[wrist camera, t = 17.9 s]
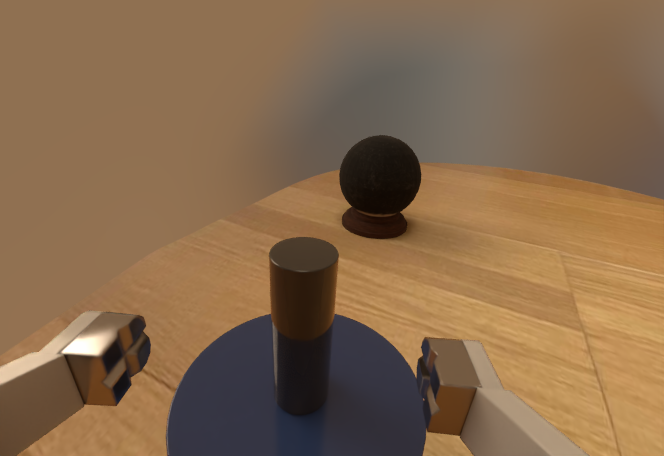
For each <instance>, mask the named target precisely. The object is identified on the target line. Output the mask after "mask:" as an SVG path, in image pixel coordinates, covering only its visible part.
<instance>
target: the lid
mask: <svg viewBox="0 0 664 456" xmlns="http://www.w3.org/2000/svg"><path fill="white" fill-rule="evenodd" d="M338 258H339V254H338V251H337V249H336V248H335V247H334V246H333V245H332V244H330V243H328V242H326V241H324V240H321V239H317V238H311V237H296V238H290V239H286V240H283V241H281V242H279V243H277V244H275V245H274V246H273V247H272V248H271V250H270V252H269V268H270V300H271V314H268V315H264V316H261V317H258V318H255V319H252V320H250V321H247V322H245V323H243V324H241V325H239V326H237V327H235V328H233V329H231V330H230V331H228V332H226V333H225V334H223V335H222V336H220V337H219V338H218V339H216V340H215V341H214V342H212V343H211V344H210V345H209V346H208V347H207V348H206V349H205V350H204V351H203V352H202V353H201V354H200V355H199V356H198V357H197V358H196V359H195V361H194V362H193V363H192V364H191V366H190V367H189V369H188V370H187V371H186V373H185V374H184V376H183V378H182V380H181V382H180V383H179V385H178V387H177V389H176V392H175V395H174V397H173V400H172V402H171V406H170V410H169V414H168V419H167V429H166V446H167V456H422V455H423V450H424V445H425V441H426V423H425V419H424V414H423V410H422V407H423V403H424V400H423V397H422V396H421V395H420V394H419V391H418V386H417V379H416V377H415V375H414V373H413V371H412V369H411V367H410V366H409V364H408V363H407V362H406V360H405V359H404V357H403V356H402V355H401V354H400V353H399V351H398V350H397V349H396V348H395V347H394V346H393V345H392V344H391V343H390V342H389V341H387V340H386V339H385V338H384V337H383V336H381V335H380V334H378V333H377V332H376V331H374V330H373V329H371V328H369V327H367V326H366V325H364V324H362V323H360V322H357V321H355V320H353V319H350V318H347V317H344V316H341V315H337V314H334V313H335V299H336V286H337V272H338Z"/></svg>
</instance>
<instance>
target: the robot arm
mask: <svg viewBox="0 0 664 456" xmlns="http://www.w3.org/2000/svg"><path fill="white" fill-rule="evenodd" d="M145 327H146V323H145V320H144V317H142V316H140V315H133V314H123V313H113V312H99V311H90V310H89V311H87V312H84V313H82V314H81V315H80V316H79V317H78V318H76V319H75V320H74V321H73V322H72V323H71V324H70V325H69V326H67V327H66V328H65V329H64V330H63V331H62V332H61V333H60V334H59V335H57V336H56V337H55V338H54V339H53V340H52V341H51V342H50V343H48V344H47V345H46V346H45V347H44V348H43V349H42V350H41V351H39V352H32V353H30V354H27V355H25V356H23V357H21V358H18V359H16V360H14V361H12V362H10V363H7V364H5V365H3V366H1V367H0V456H17V455H18V454H19V453H21V452H22V451H23V450H25V449H26V448H28V447H29V446H30V445H32V444H33V443H34V442H36V441H37V440H39V439H40V438H41V437H43V436H44V435H46V434H47V433H48V432H50V431H51V430H52V429H54V428H55V427H57V426H58V425H59V424H61V423H62V422H63V421H65V420H66V419H68V418H69V417H70V416H72V415H73V414H75V413H76V412H77V411H79V410H80V409H81V408H83V407H84V404H85V405H104V406H117V404H118V403H119V402H120V400H121V399H122V397H123V396H124V395H125V393H126V392H127V390H128V389H129V387H130V386H131V377H132V376H134V375H135V374H137V373H139V372H140V371H141V370H142V369H143V367H144V366H145V364H146V363H147V360H148V357H149V354H150V346H151V344H150V339H149V337H148V336H147V335H146V334H145V333H144V332H143V330H144V328H145ZM421 348H422V353H423V356H422V357H420V358H419V359H418V364H417V386H418V391H419V394H420V395H421V396H422V397H423V398H424V403H423V407H422V410H423V414H424V419H425V423H426V428H427V432H431V433H440V434H449V435H457V436H460V438H461V440H462V441H463V442H464V444H465V445H466V446H467V447H468V449H469V450H470V451H471V453H472V454H473V455H474V456H589V455H588V454H587V453H586V452H585V451H583V450H582V449H581V448H580V447H579V446H577V445H576V444H575V443H574V442H572V441H571V440H570V439H569V438H568V437H566V436H565V435H564V434H563V433H562V432H560V431H559V430H558V429H557V428H555V427H554V426H553V425H552V424H551V423H549V422H548V421H547V420H546V419H544V418H543V417H542V416H541V415H540V414H538V413H537V412H536V411H535V410H534V409H532V408H531V407H530V406H529V405H527V404H526V403H525V402H524V401H523V400H521V399H520V398H519V397H518V396H517V395H515V394H514V393H513V392H512V391H510V390H504V388H503V385H502V383H501V381H500V379H499V377H498V375H497V373H496V371H495V369H494V367H493V365H492V363H491V361H490V359H489V357H488V355H487V353H486V351H485V349H484V347H483V345H482V343H481V342H480V341H478V340H462V339H460V340H459V339H445V338H430V337H425V338H424V340H423V342H422V346H421Z"/></svg>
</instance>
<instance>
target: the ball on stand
mask: <svg viewBox="0 0 664 456" xmlns="http://www.w3.org/2000/svg"><path fill="white" fill-rule="evenodd" d="M339 176H340V186H341V190H342V193H343V195H344V197H345V199H346V200H347V201H348V203H349V204H350V205H351V206H352V207H351V208H349V209H348V210H347V211H346V212H345V213H344V214H343V217H342V224H343V226H344V227H345V228H346V229H347V230H349V231H350V232H352V233H355V234H357V235H360V236H364V237H369V238H381V239H383V238H393V237H397V236H400V235H401V234H403V233H404V232H405V231H406V228H407V222H406V220H405V218H404V216H403V215H402V214H401V213H400V212H401V211H402V210H403V209H405V208H406V207H407V206H408V205H409V204H410V203H411V202H412V201H413V200H414V198H415V196H416V194H417V192H418V190H419V187H420V183H421V169H420V164H419V161H418V159H417V157H416V155H415V153H414V152H413V150H412V149H411V148H410V147H409V146H408V145H407V144H405V143H404V142H402V141H401V140H399V139H396V138H394V137H391V136H385V135H379V136H373V137H368V138H366V139H363V140H362V141H360V142H358V143H357V144H356V145H354V146H353V147H352V148H351V149H350V150H349V151H348V153H347V154H346V156H345V158H344V159H343V162H342V165H341V168H340V174H339Z"/></svg>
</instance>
